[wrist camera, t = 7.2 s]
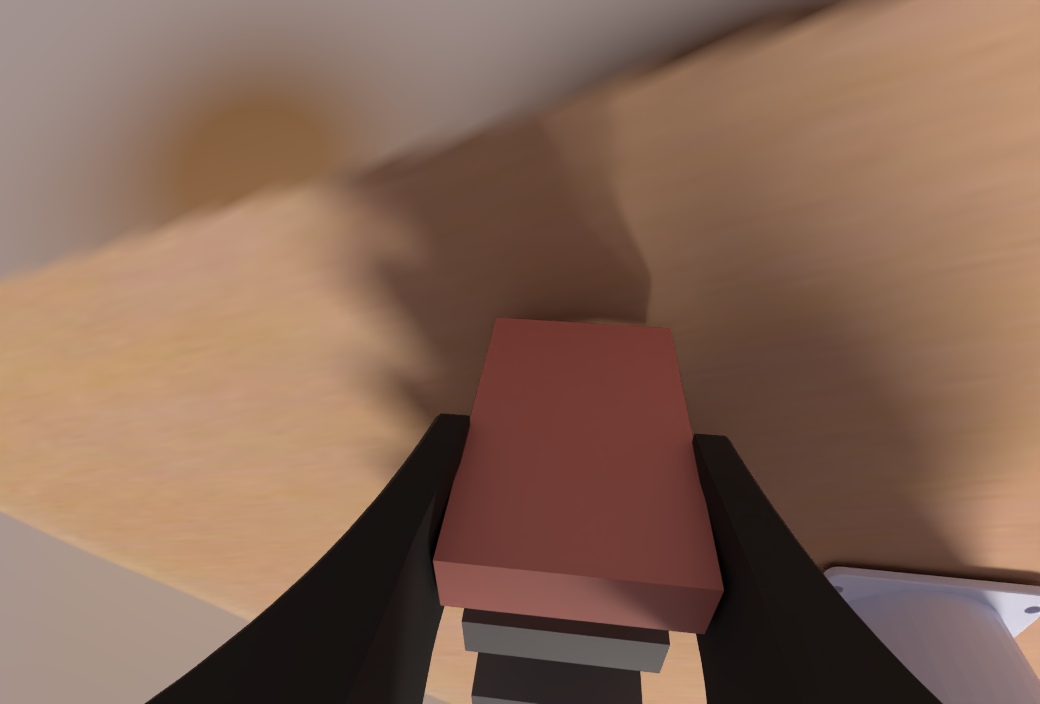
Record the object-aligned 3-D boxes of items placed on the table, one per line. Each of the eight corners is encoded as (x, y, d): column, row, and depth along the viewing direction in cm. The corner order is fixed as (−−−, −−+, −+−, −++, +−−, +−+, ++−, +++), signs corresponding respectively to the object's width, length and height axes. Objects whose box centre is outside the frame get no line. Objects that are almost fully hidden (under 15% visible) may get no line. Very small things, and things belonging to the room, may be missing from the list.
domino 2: (624, 518, 20) (635, 736, 15) (506, 507, 21) (473, 715, 15) (628, 495, 19) (643, 716, 14) (505, 484, 20) (471, 695, 14)
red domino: (661, 370, 14) (704, 634, 9) (497, 359, 15) (440, 605, 9) (670, 328, 14) (724, 591, 8) (496, 317, 14) (432, 560, 8)
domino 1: (638, 446, 18) (659, 673, 12) (504, 434, 18) (465, 650, 13) (644, 415, 17) (670, 644, 11) (503, 404, 17) (461, 621, 12)
